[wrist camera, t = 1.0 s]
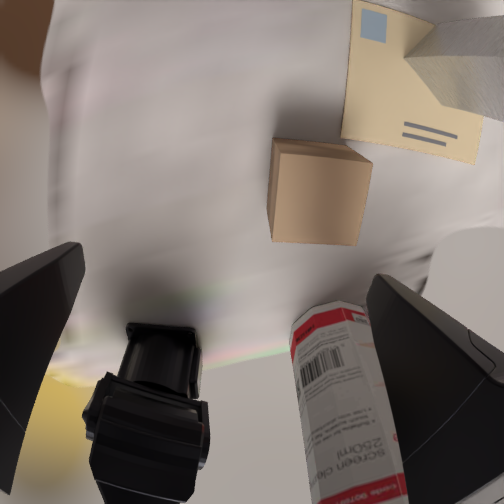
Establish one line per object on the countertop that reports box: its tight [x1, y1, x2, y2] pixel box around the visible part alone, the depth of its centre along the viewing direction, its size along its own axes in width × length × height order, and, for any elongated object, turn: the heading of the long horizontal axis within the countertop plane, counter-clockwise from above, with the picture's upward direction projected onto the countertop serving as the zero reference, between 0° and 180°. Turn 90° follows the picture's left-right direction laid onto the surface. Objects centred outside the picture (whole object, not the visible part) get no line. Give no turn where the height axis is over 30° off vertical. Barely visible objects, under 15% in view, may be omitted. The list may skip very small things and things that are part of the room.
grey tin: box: [404, 15, 504, 122], centre depth 11 cm, size 5×5×12 cm
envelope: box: [340, 0, 484, 165], centre depth 17 cm, size 12×10×1 cm
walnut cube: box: [267, 138, 373, 246], centre depth 19 cm, size 5×5×5 cm
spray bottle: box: [289, 300, 409, 504], centre depth 17 cm, size 8×8×25 cm
